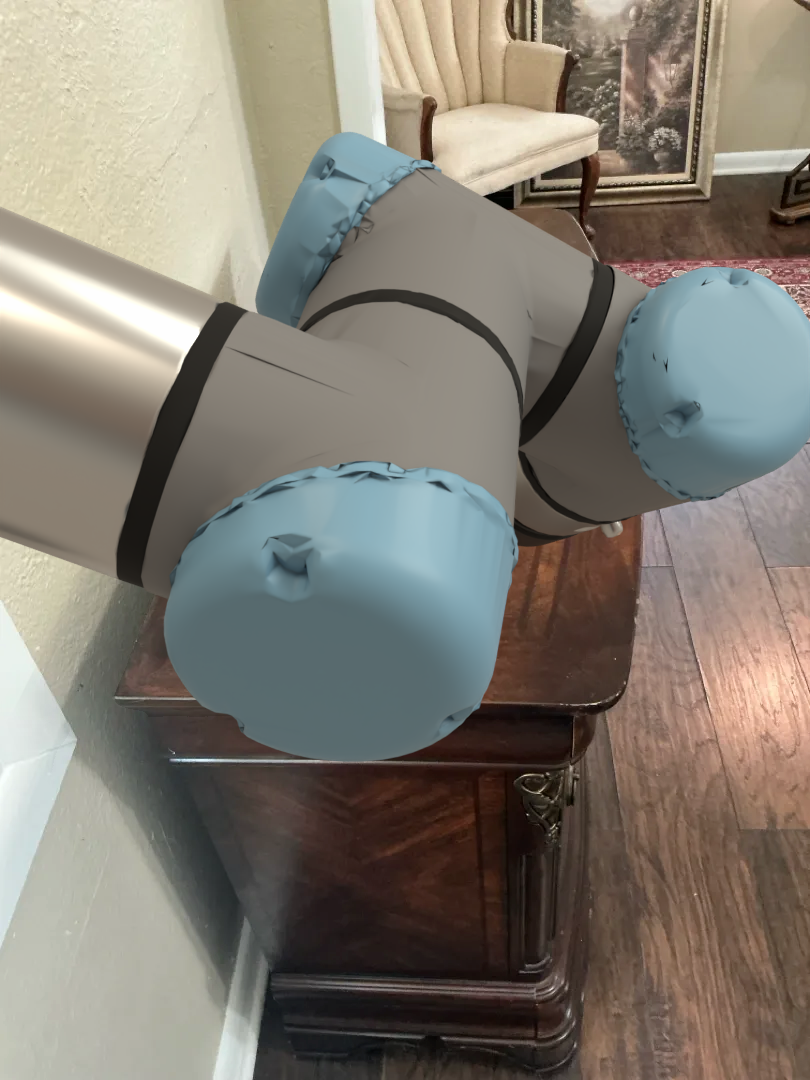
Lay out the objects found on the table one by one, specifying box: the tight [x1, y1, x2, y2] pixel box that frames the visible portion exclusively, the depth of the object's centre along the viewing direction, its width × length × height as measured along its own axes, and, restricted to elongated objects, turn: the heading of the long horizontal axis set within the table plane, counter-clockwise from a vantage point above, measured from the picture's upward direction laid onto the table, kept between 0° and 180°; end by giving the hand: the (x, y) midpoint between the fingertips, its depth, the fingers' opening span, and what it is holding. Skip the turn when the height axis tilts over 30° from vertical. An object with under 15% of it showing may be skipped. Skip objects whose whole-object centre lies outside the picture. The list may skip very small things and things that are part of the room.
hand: (427, 525), depth 63 cm, fingers open, 13 cm apart
